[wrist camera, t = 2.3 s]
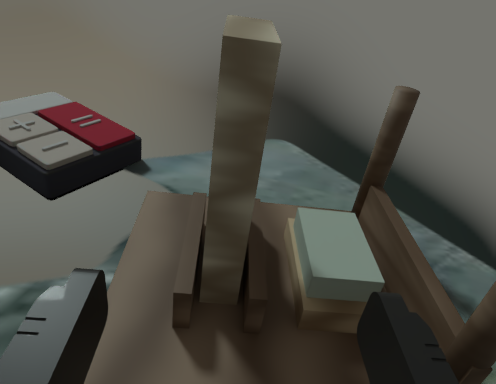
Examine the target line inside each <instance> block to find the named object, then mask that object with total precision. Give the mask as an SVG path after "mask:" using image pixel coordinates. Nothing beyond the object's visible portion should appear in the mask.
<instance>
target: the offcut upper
mask: <svg viewBox="0 0 496 384" xmlns="http://www.w3.org/2000/svg"><path fill="white" fill-rule="evenodd" d="M293 228H294V234H295V239H296V244H297V250H298V255H299V260H300V266H301V271H302V276H303V282H304V287H305V293H306V297H310V298H323V299H335V300H348V301H360V302H367V301H368V299H369V297H370V295H371V293H372V292H381V290H382V288H383V286H384V283H385V282H384V279H383V277H382V275H381V272H380V270H379V268H378V265H377V263H376V261H375V259H374V256H373V254H372V252H371V249H370V247H369V245H368V242H367V240H366V238H365V236H364V233H363V231H362V229H361V226H360V224H359V222H358V219H357V217H356V215H355V213H349V212H339V211H329V210H319V209H310V208H300V207H298V209H297V213H296V217H295V221H294V225H293Z"/></svg>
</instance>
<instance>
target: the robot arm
mask: <svg viewBox="0 0 496 384" xmlns="http://www.w3.org/2000/svg"><path fill="white" fill-rule="evenodd" d="M107 316H108V298H107V290H106V282H105V274H104V271H103V270H94V269H80V268H76V269H74V270H73V271H72V273H71V275H70V276H69V278H68V280H67V282H66V284H65V286H51V287H50V288H49V289H48V290H47V291H46V292H44V293H43V294H42V295H41V296H40V297H38V298H37V299H36V300H35V302H34V304H33V305H32V307H31V309H30V310H29V312H28V314H27V315H26V319H25V320H23V322H22V324H21V325H20V327H19V329H18V330H17V334H16V335H14V337H13V338H12V340H11V342H10V343H9V345H8V347H7V348H6V350H5V352H4V353H3V355H2V357H1V358H0V384H84V382H85V379H86V376H87V374H88V371H89V368H90V366H91V363H92V360H93V358H94V355H95V352H96V349H97V347H98V344H99V341H100V339H101V336H102V333H103V331H104V328H105V325H106V321H107ZM357 341H358V345H359V348H360V352H361V355H362V358H363V362H364V365H365V368H366V372H367V375H368V378H369V382H370V384H459V382H458V380H457V378H456V376H455V375H454V373H453V371H452V369H451V367H450V365H449V363H448V362H446V357H445V355H444V353H443V351H442V349H441V348H439V343H438V341H437V339H436V337H435V335H434V333H433V332H432V330H431V328H430V327H429V326H428V324H427V323H426V322H425V321H424V320H423V319H422V318H421V317H420V316H419V315H418V314H417V313H415V312H409V310H408V308H407V306H406V304H405V302H404V300H403V298H402V296H401V295H400V294H398V293H387V292H372V293H371V295H370V297H369V299H368V301H367V304H366V306H365V308H364V311H363V313H362V315H361V318H360V320H359V322H358V326H357Z"/></svg>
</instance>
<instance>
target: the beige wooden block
mask: <svg viewBox="0 0 496 384" xmlns="http://www.w3.org/2000/svg"><path fill="white" fill-rule="evenodd" d="M280 50H281V41H280V39H279V37H278V34H277V32H276V30H275V27H274V25H273V23H272V21H268V20H262V19H255V18H248V17H241V16H234V15H228V16H227V20H226V25H225V29H224V33H223V39H222V51H221V62H220V74H219V85H218V96H217V108H216V119H215V130H214V142H213V153H212V164H211V176H210V187H209V198H208V210H207V221H206V232H205V244H204V255H203V266H202V278H201V289H200V301H199V302H205V303H217V304H230V305H237V301H238V295H239V289H240V283H241V277H242V272H243V266H244V260H245V254H246V248H247V242H248V237H249V231H250V225H251V219H252V213H253V207H254V202H255V196H256V190H257V184H258V178H259V172H260V167H261V161H262V155H263V149H264V143H265V137H266V132H267V126H268V120H269V114H270V108H271V102H272V97H273V90H274V85H275V79H276V73H277V67H278V62H279V56H280Z"/></svg>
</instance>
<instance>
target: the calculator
mask: <svg viewBox="0 0 496 384" xmlns="http://www.w3.org/2000/svg"><path fill="white" fill-rule="evenodd" d="M140 160H141V138H140V137H138V136H137V135H135V133H134V132H132V131H131V130H129V129H127V128H125V127H123V126H121V125H119V124H117V123H115V122H113V121H111V120H110V119H108V118H106V117H104V116H102V115H100V114H98V113H96V112H95V111H92V110H91V109H89V108H87V107H85V106H83V105H81V104H79V103H77V102H72V101H71V100H69V99H67V98H65V97H63V96H62V95H60V94H58V93H56V92H49V93H44V94H40V95H34V96H29V97H24V98H20V99H15V100H10V101H5V102H0V166H1V167H2V168H3V169H5V170H6V171H8V172H9V173H10V174H12V175H13V176H15V177H16V178H18V179H19V180H20V181H22V182H23V183H25V184H26V185H27V186H29V187H30V188H32V189H33V190H34V191H36V192H37V193H39V194H40V195H41V196H43V197H44V198H46V199H47V200H50V201H52V200H56V199H58V198H60V197H62V196H65V195H67V194H69V193H72V192H74V191H76V190H78V189H81V188H83V187H85V186H88V185H90V184H92V183H94V182H97V181H99V180H101V179H104V178H106V177H108V176H110V175H113V174H115V173H117V172H119V171H122V170H124V169H122V168H124V167H126V166H128V165H130V164H133V163H135V162H137V161H140Z"/></svg>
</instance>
